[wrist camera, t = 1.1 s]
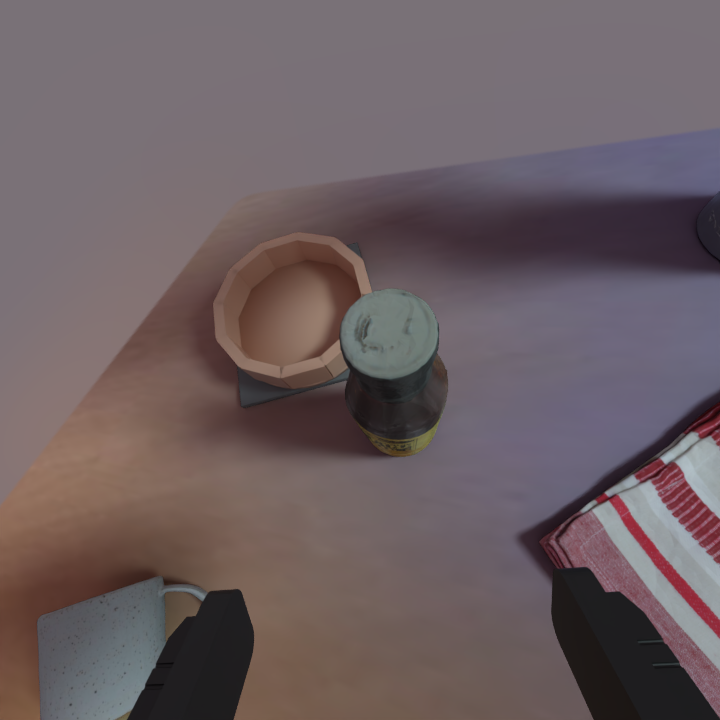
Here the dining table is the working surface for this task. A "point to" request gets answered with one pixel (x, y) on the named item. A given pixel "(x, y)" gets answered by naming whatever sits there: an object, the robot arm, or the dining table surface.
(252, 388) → the mat
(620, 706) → the robot arm
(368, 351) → the sauce bottle
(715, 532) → the dish towel
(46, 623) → the ceramic mug
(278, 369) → the bowl
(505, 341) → the dining table surface
